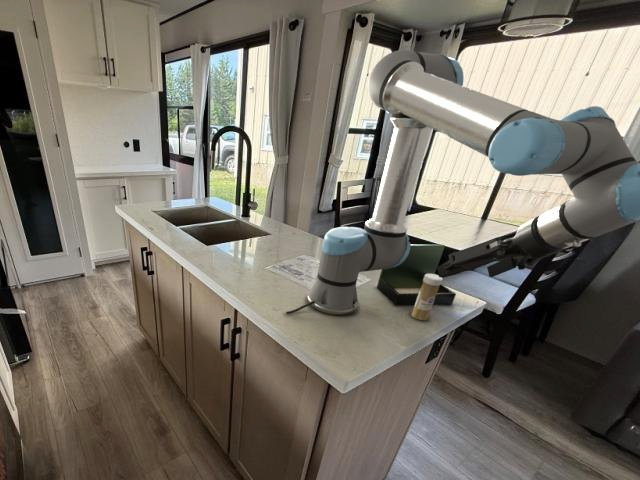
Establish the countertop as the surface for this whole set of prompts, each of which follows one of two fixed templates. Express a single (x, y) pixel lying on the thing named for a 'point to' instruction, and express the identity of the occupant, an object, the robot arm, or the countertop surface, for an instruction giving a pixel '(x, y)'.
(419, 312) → the sprinkles bottle
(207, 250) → the countertop surface
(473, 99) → the robot arm
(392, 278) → the box
